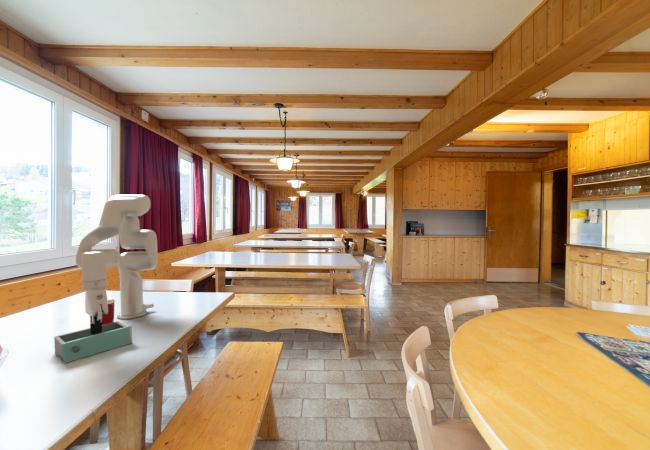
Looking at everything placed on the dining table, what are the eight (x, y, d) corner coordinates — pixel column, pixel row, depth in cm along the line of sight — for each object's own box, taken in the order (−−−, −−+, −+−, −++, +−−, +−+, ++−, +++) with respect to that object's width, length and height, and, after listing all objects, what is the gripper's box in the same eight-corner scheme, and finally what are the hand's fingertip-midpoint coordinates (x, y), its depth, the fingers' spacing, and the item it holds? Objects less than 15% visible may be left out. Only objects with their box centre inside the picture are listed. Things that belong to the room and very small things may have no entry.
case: (118, 335, 127) (117, 321, 127) (129, 342, 119) (128, 327, 119) (55, 352, 111) (54, 336, 111) (63, 362, 104) (62, 344, 104)
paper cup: (120, 329, 133) (119, 297, 133) (102, 336, 126) (101, 302, 125) (107, 328, 136) (106, 296, 135) (89, 334, 128) (88, 301, 128)
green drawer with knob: (131, 341, 120) (131, 325, 119) (134, 343, 118) (133, 326, 118) (63, 362, 103) (62, 343, 103) (65, 364, 102) (64, 345, 102)
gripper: (113, 285, 113) (114, 334, 113) (100, 280, 122) (101, 326, 123) (88, 288, 107) (90, 341, 107) (76, 284, 116) (78, 332, 117)
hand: (96, 333), depth 115 cm, fingers closed
